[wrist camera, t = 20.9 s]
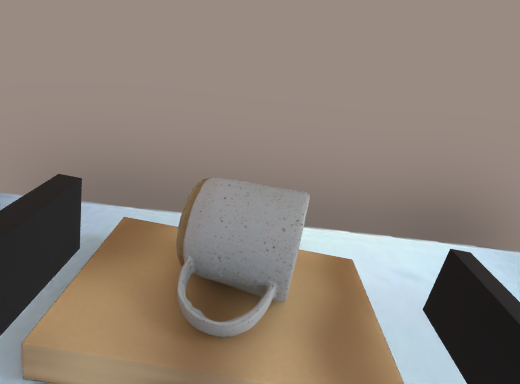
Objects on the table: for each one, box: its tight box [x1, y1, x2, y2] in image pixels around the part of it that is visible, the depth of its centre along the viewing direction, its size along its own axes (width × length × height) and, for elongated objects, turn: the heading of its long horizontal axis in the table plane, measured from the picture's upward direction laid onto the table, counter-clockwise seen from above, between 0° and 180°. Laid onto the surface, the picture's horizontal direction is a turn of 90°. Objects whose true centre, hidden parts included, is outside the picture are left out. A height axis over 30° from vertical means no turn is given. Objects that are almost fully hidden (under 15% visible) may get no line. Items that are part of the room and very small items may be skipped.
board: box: [22, 217, 404, 384], centre depth 27 cm, size 21×15×2 cm
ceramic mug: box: [176, 178, 310, 337], centre depth 25 cm, size 11×8×8 cm
